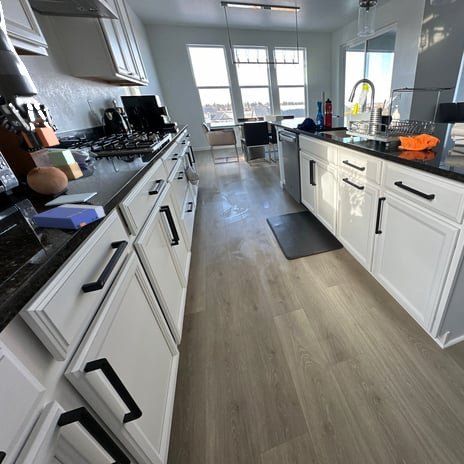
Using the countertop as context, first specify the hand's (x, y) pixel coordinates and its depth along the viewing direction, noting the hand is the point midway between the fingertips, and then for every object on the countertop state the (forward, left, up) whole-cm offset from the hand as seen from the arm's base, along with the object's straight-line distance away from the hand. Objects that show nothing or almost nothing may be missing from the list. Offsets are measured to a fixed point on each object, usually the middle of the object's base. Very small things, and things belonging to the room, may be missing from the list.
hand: (44, 145), depth 70 cm
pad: (0, 0, -16) cm, 16 cm away
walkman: (+4, -17, -15) cm, 23 cm away
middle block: (-16, +32, -11) cm, 37 cm away
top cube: (0, 0, 0) cm, 0 cm away
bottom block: (-16, +32, -16) cm, 39 cm away
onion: (-10, +10, -16) cm, 22 cm away
